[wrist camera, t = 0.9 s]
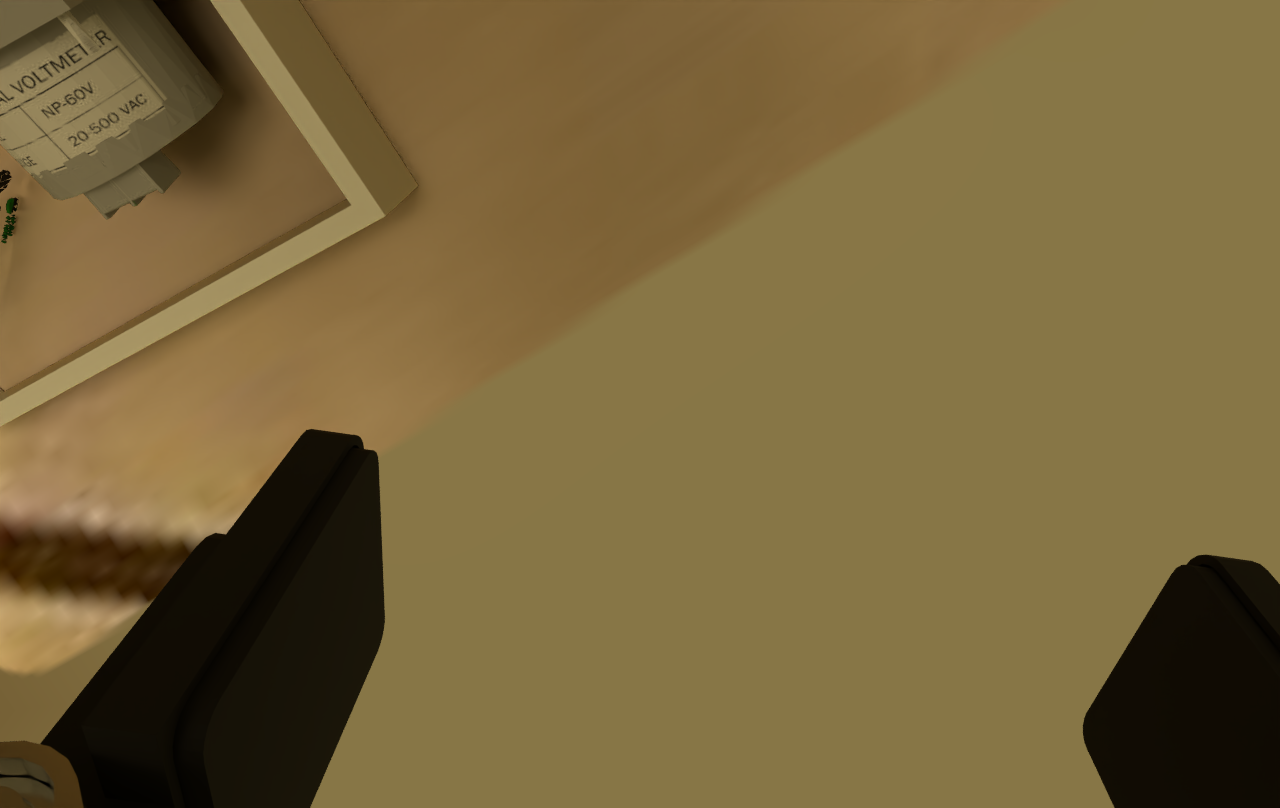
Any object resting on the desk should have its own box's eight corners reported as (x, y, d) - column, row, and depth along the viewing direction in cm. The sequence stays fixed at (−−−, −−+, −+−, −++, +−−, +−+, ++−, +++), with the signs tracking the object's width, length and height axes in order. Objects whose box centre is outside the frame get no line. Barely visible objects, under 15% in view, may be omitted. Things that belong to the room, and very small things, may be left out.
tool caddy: (-262, 147, 39) (-369, 172, 35) (171, -197, 31) (95, -215, 27) (6, 412, 46) (-59, 458, 42) (418, 185, 38) (385, 215, 34)
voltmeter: (21, -202, 31) (-235, -247, 23) (305, -21, 34) (171, -1, 25) (-73, 331, 43) (-263, 433, 35) (141, 435, 46) (13, 553, 37)
